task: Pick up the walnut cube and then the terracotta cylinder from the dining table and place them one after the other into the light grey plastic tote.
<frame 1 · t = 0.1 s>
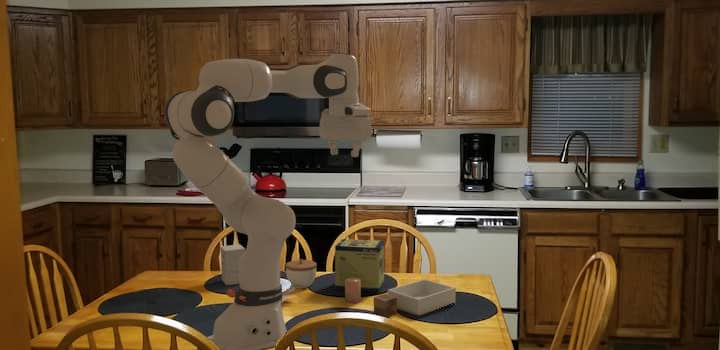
hand: (344, 155, 192), 48 cm above the table, tool pointing down, fingers open, 8 cm apart
lidded jar: (301, 286, 224), on the table
walnut cube: (385, 313, 196), on the table
tote: (421, 304, 203), on the table
protein box: (360, 287, 222), on the table
supplement box: (233, 282, 229), on the table
terracotta cylinder: (352, 301, 207), on the table
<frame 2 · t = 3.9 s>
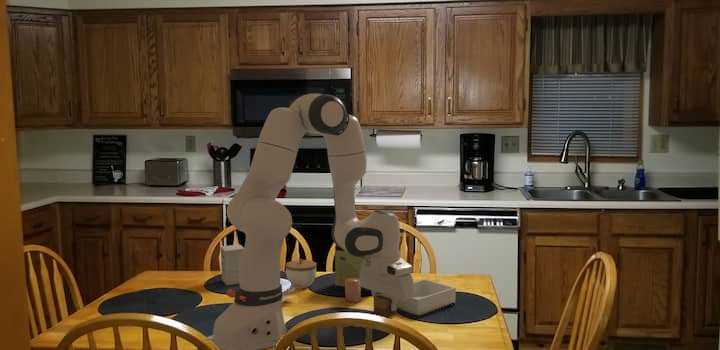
hand: (385, 307, 195), 2 cm above the table, tool pointing down, fingers closed on walnut cube, 5 cm apart
walnut cube: (385, 312, 196), on the table, touching gripper
everything else where it was.
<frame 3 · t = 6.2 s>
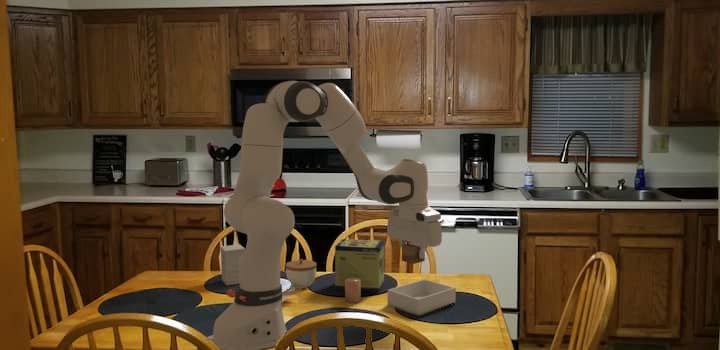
hand: (413, 255, 199), 16 cm above the table, tool pointing down, fingers closed on walnut cube, 5 cm apart
walnut cube: (413, 260, 199), point 15 cm above the table, touching gripper
everything else where it was.
when the fingers open (4 cm above the table, at t = 8.7 s): walnut cube drops 2 cm, resting on tote.
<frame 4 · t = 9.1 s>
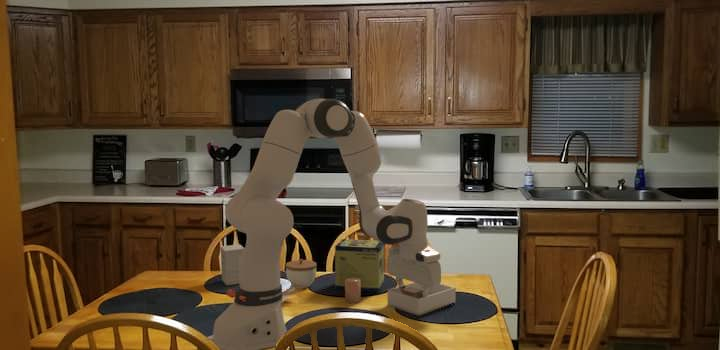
hand: (412, 294, 200), 4 cm above the table, tool pointing down, fingers open, 8 cm apart
walnut cube: (412, 305, 201), point 1 cm above the table, touching tote
everything else where it was.
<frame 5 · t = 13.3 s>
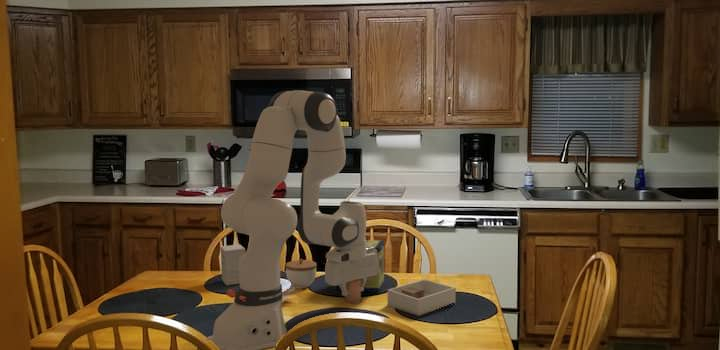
hand: (352, 293, 206), 3 cm above the table, tool pointing down, fingers closed on terracotta cylinder, 5 cm apart
terracotta cylinder: (352, 301, 207), on the table, touching gripper
everything else where it was.
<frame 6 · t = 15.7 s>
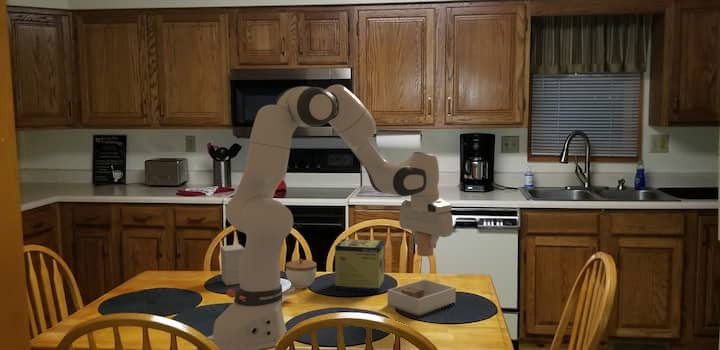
hand: (425, 246, 204), 18 cm above the table, tool pointing down, fingers closed on terracotta cylinder, 5 cm apart
terracotta cylinder: (425, 254, 204), point 16 cm above the table, touching gripper
everything else where it was.
when the fingers open (5 cm above the table, at t = 18.6 s): terracotta cylinder drops 2 cm, resting on tote.
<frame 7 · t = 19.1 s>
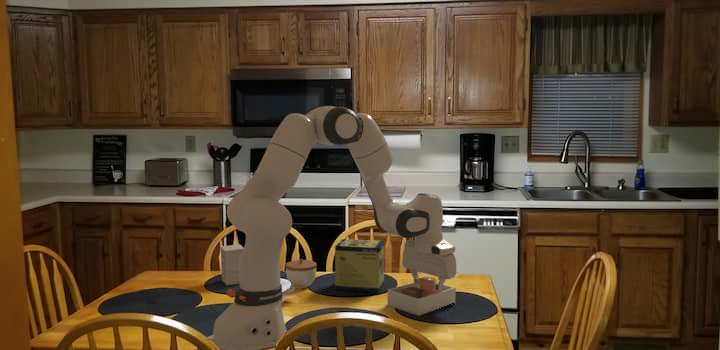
hand: (428, 286, 205), 5 cm above the table, tool pointing down, fingers open, 8 cm apart
terracotta cylinder: (427, 300, 205), point 1 cm above the table, touching tote
everything else where it was.
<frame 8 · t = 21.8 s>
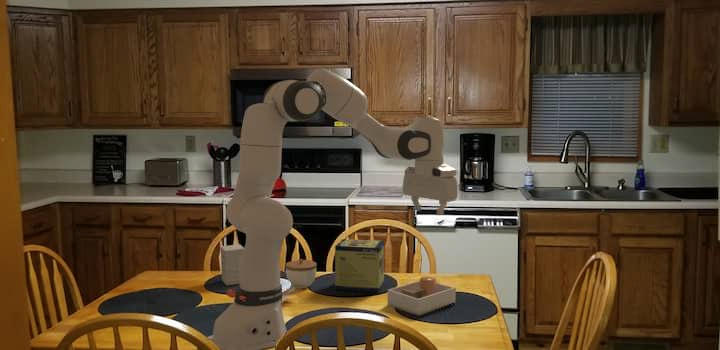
hand: (428, 212, 202), 29 cm above the table, tool pointing down, fingers open, 8 cm apart
nothing on the table moved.
at the end: walnut cube inside the target area on the tote (4.0 cm from its centre), point 0.6 cm above the tote's base; terracotta cylinder inside the target area on the tote (2.9 cm from its centre), point 0.6 cm above the tote's base; the gripper is holding nothing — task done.
